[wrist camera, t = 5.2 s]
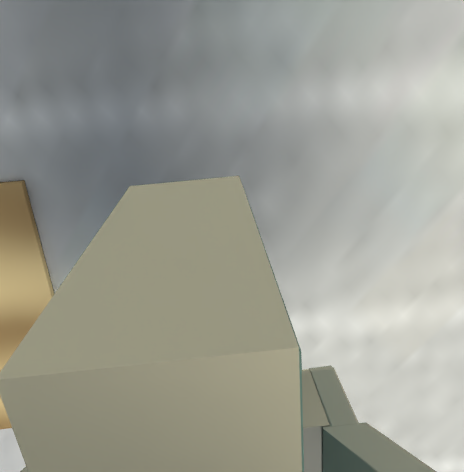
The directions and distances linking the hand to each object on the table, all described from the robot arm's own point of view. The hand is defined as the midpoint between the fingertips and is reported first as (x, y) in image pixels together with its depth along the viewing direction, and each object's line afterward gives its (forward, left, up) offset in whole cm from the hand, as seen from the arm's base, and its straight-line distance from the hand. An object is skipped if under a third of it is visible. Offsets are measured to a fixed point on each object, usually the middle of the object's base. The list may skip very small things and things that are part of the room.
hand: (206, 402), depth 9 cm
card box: (0, 0, -2) cm, 2 cm away
